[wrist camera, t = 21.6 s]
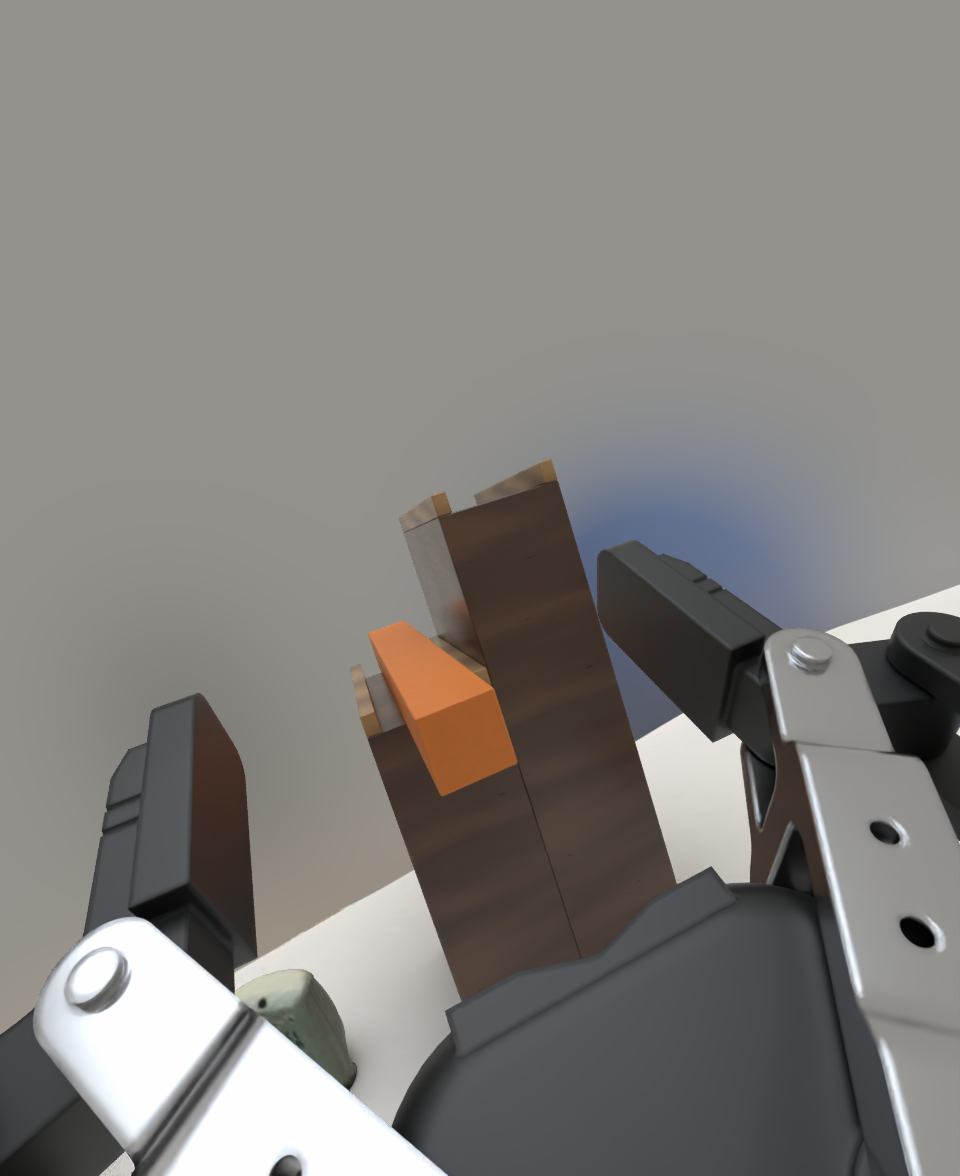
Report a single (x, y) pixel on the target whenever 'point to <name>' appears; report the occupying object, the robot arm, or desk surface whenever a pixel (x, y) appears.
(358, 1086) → the desk surface
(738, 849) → the desk surface
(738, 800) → the desk surface
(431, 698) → the orange block
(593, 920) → the display stand
